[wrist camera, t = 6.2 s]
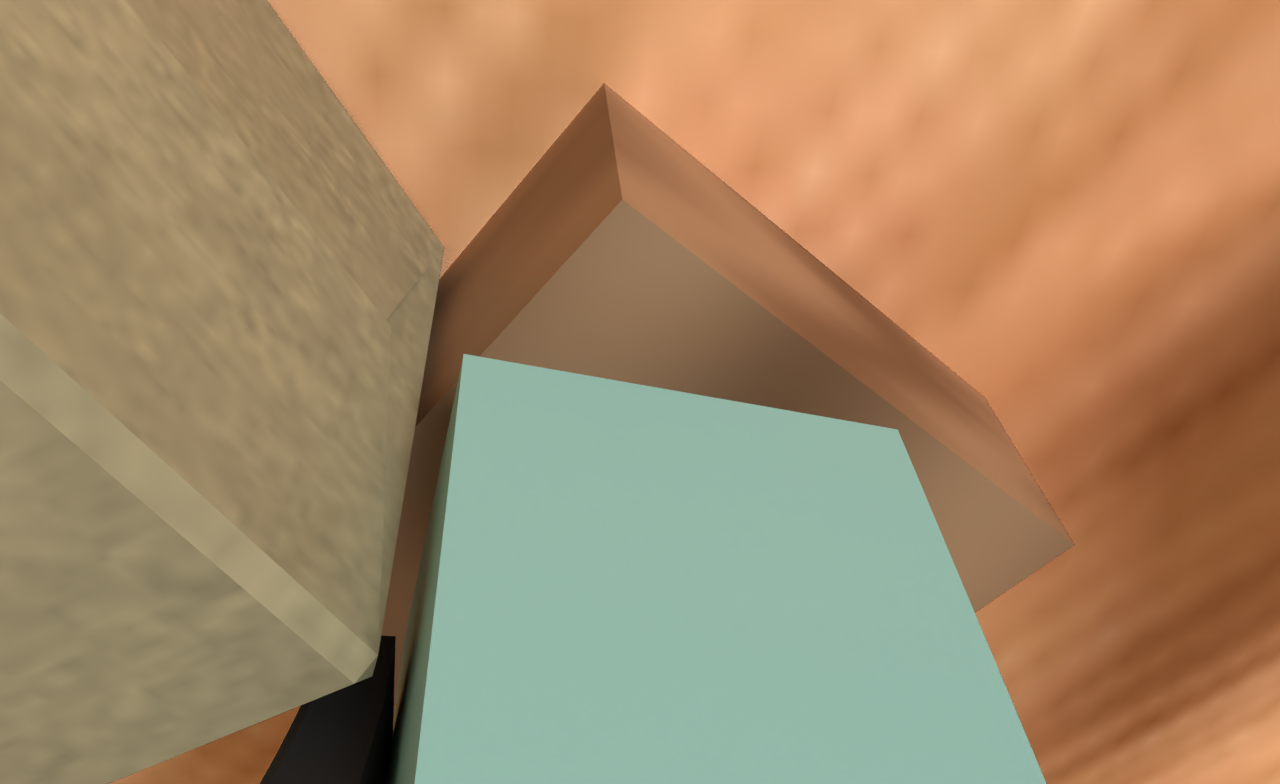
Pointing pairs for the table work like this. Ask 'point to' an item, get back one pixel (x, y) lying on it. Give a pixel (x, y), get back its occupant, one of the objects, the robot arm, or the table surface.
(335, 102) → the tissue box
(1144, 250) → the table surface
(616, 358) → the walnut block
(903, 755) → the teal cube
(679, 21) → the table surface
